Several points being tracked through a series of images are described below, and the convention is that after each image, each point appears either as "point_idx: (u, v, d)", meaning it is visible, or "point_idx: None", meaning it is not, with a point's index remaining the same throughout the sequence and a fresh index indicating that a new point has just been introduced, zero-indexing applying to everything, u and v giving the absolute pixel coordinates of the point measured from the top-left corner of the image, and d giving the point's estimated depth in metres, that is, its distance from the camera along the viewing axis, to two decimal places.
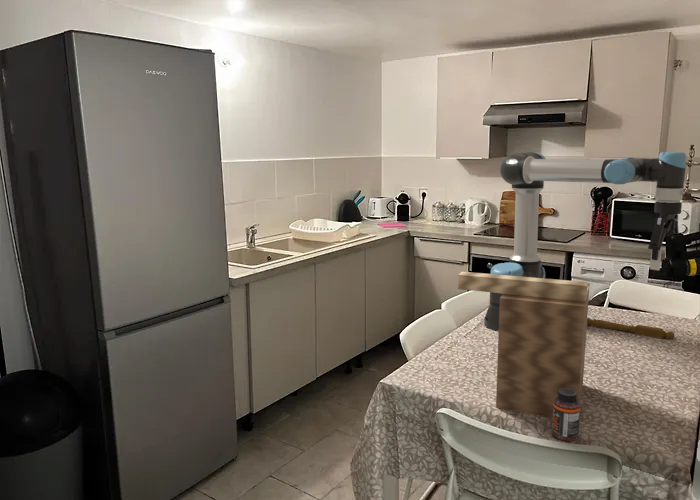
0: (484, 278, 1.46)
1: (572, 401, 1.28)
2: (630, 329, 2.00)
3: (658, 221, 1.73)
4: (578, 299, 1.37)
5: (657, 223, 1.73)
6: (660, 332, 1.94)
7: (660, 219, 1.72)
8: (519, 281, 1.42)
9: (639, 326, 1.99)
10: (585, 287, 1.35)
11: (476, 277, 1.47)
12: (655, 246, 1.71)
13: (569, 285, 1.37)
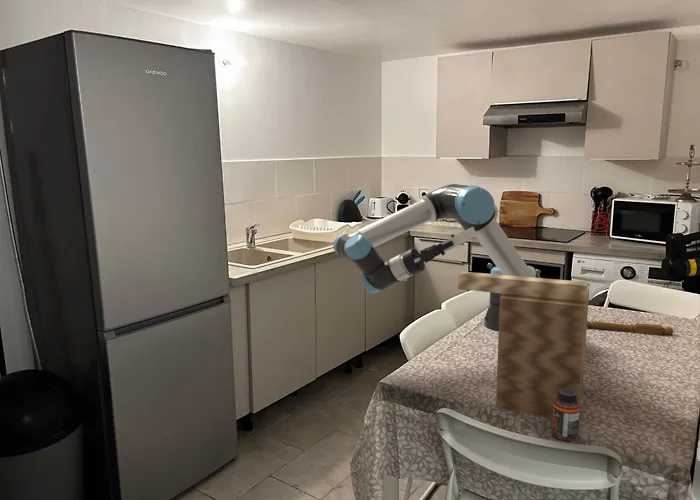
0: (484, 278, 1.46)
1: (572, 401, 1.28)
2: (630, 328, 2.01)
3: None
4: (578, 299, 1.37)
5: None
6: (660, 329, 1.97)
7: None
8: (519, 281, 1.42)
9: (638, 325, 2.00)
10: (585, 287, 1.35)
11: (476, 277, 1.47)
12: None
13: (569, 285, 1.37)
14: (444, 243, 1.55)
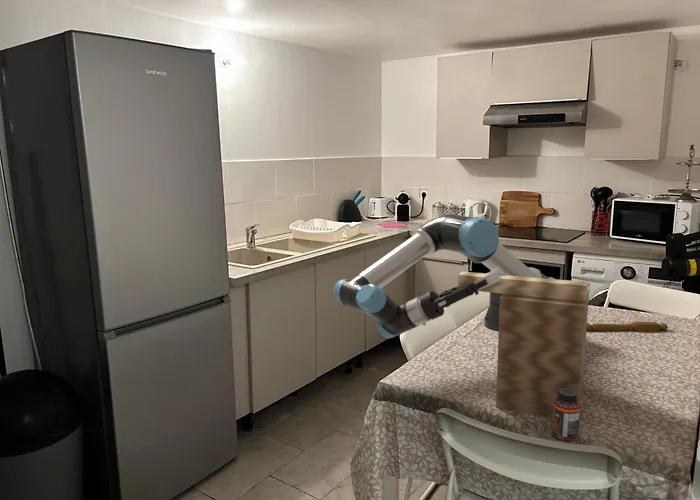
0: None
1: (572, 401, 1.28)
2: (630, 327, 2.02)
3: None
4: (578, 299, 1.37)
5: None
6: (657, 325, 2.01)
7: None
8: (519, 281, 1.42)
9: (637, 323, 2.02)
10: (585, 287, 1.35)
11: (476, 277, 1.47)
12: None
13: (569, 285, 1.37)
14: (477, 282, 1.46)
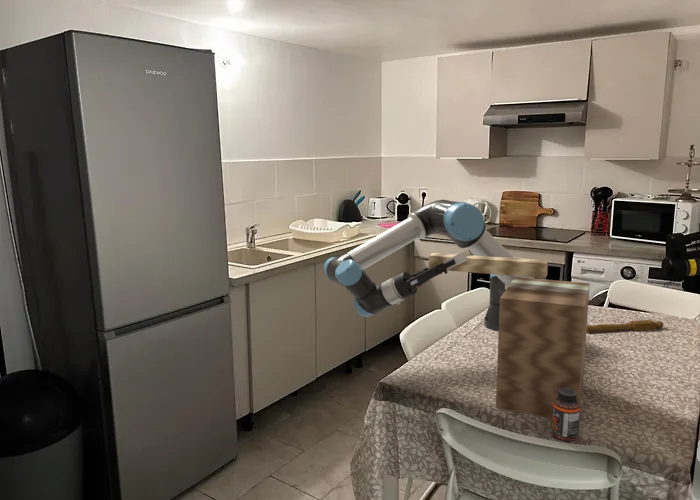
0: None
1: (572, 401, 1.28)
2: (629, 327, 2.02)
3: None
4: (538, 276, 1.47)
5: None
6: (654, 324, 2.03)
7: None
8: (484, 260, 1.52)
9: (635, 322, 2.03)
10: (544, 264, 1.45)
11: (445, 257, 1.57)
12: None
13: (530, 263, 1.47)
14: (446, 262, 1.56)
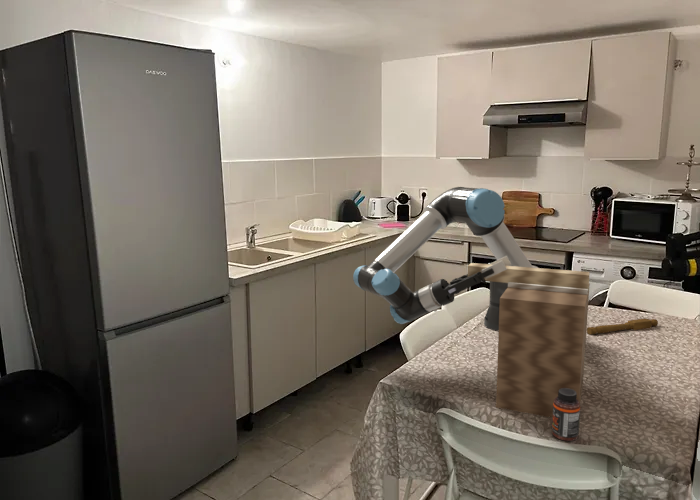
0: None
1: (572, 401, 1.28)
2: (628, 326, 2.03)
3: None
4: None
5: None
6: (651, 322, 2.05)
7: None
8: (525, 271, 1.52)
9: (633, 322, 2.04)
10: (587, 276, 1.45)
11: None
12: None
13: (572, 274, 1.47)
14: (484, 271, 1.55)
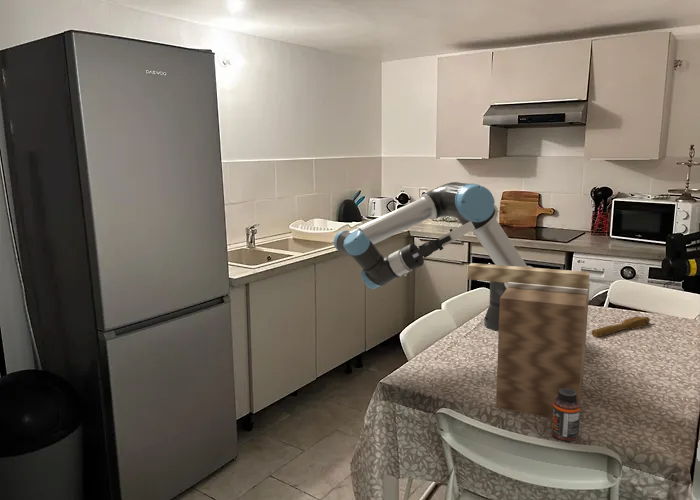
0: (492, 269, 1.56)
1: (572, 401, 1.28)
2: (627, 326, 2.03)
3: None
4: None
5: None
6: (644, 320, 2.07)
7: None
8: (525, 271, 1.52)
9: (630, 321, 2.05)
10: (587, 276, 1.45)
11: (485, 268, 1.56)
12: None
13: (572, 274, 1.47)
14: (442, 238, 1.56)
